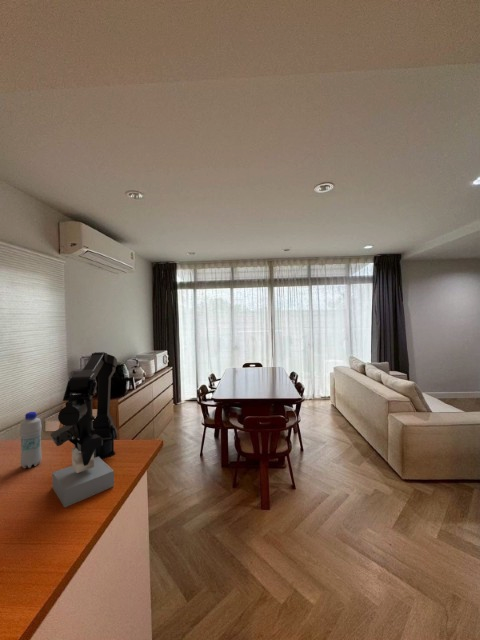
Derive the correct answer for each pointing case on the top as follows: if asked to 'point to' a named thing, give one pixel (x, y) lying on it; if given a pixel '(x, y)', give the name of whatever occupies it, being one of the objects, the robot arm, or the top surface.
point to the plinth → (82, 482)
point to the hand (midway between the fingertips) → (83, 462)
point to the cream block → (80, 461)
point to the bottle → (30, 440)
